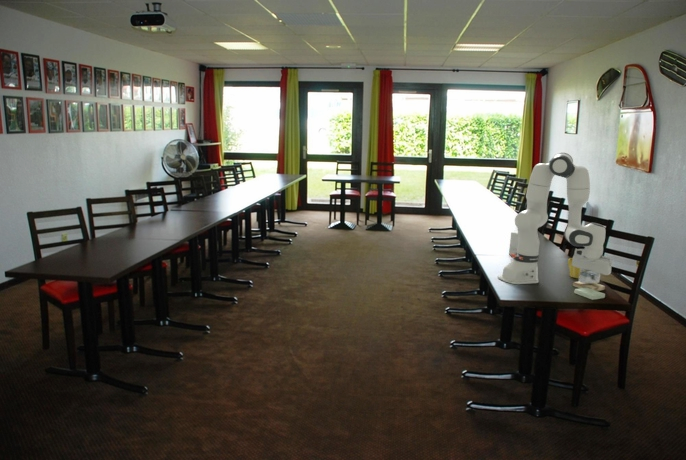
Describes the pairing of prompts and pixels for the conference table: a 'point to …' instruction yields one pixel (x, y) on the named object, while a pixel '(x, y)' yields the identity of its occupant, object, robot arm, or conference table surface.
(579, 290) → the stand
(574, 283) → the stand
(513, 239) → the supplement box
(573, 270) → the plant pot
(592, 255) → the robot arm
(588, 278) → the housing
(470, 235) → the conference table surface
